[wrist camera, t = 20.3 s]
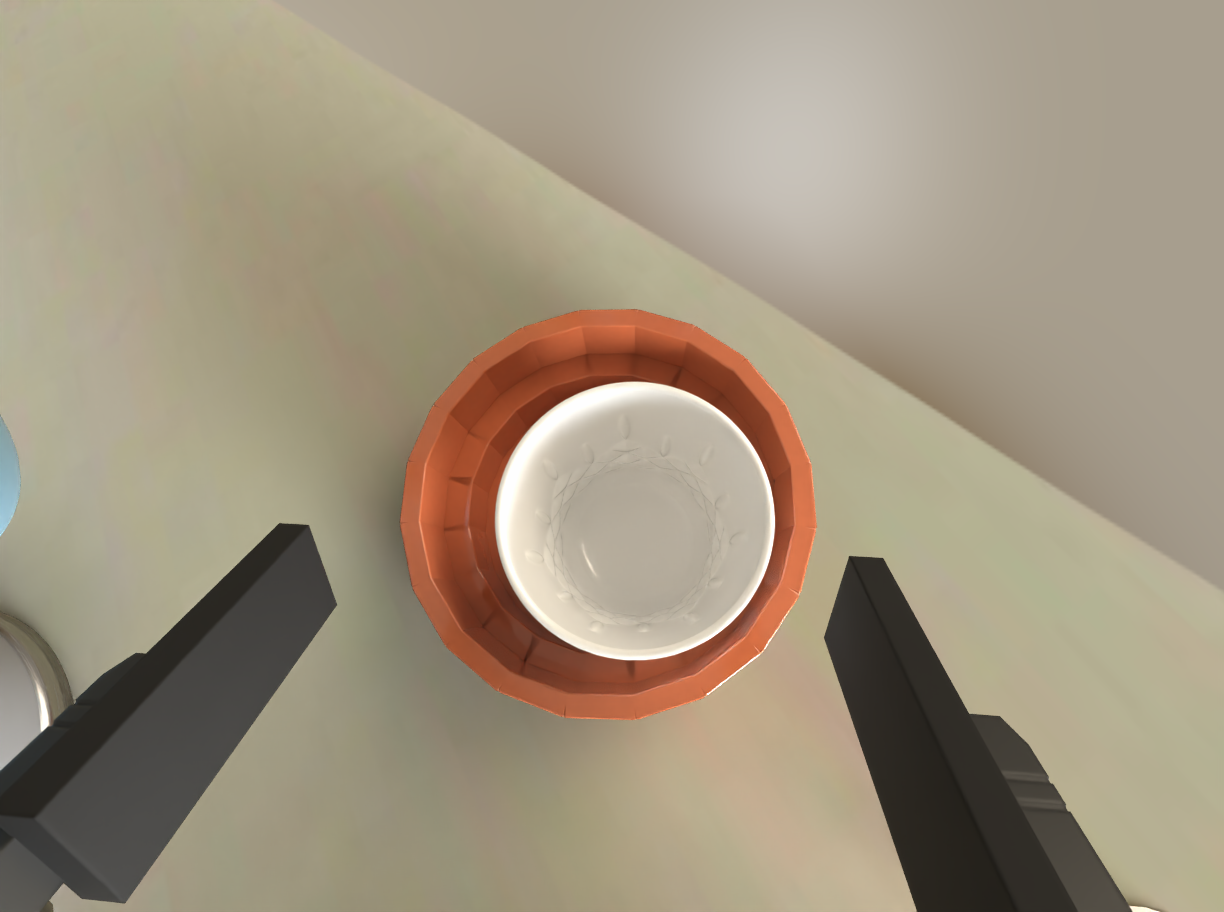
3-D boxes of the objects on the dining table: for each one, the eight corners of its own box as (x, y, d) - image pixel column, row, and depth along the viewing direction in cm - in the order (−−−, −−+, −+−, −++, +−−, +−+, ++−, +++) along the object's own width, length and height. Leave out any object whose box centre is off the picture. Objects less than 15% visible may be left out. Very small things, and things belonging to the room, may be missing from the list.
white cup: (605, 668, 23) (581, 720, 13) (521, 516, 25) (447, 465, 15) (754, 574, 24) (833, 560, 14) (662, 433, 26) (675, 335, 16)
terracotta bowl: (496, 735, 23) (449, 781, 17) (426, 419, 27) (369, 372, 22) (826, 628, 24) (886, 639, 18) (709, 333, 28) (727, 264, 22)
